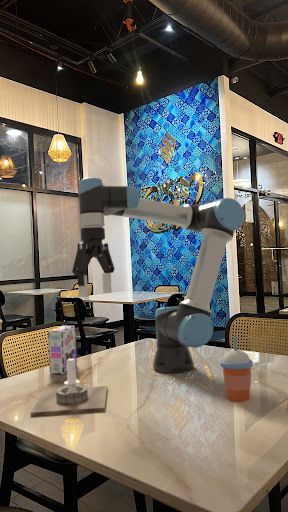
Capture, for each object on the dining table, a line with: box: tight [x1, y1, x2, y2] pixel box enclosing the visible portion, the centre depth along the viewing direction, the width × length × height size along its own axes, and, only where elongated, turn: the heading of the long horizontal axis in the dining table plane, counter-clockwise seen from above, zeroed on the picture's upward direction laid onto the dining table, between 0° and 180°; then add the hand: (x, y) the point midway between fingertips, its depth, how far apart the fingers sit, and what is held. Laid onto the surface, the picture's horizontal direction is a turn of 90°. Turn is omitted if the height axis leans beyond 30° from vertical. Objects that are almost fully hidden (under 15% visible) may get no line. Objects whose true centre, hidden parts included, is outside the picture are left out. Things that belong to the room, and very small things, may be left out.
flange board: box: [30, 384, 108, 417], centre depth 123 cm, size 20×20×4 cm
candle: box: [63, 358, 81, 393], centre depth 123 cm, size 5×5×12 cm
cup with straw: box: [220, 334, 254, 403], centre depth 119 cm, size 9×9×18 cm
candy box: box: [47, 325, 78, 375], centre depth 162 cm, size 14×6×16 cm, turn 168°
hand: (95, 294), depth 131 cm, fingers open, 13 cm apart
